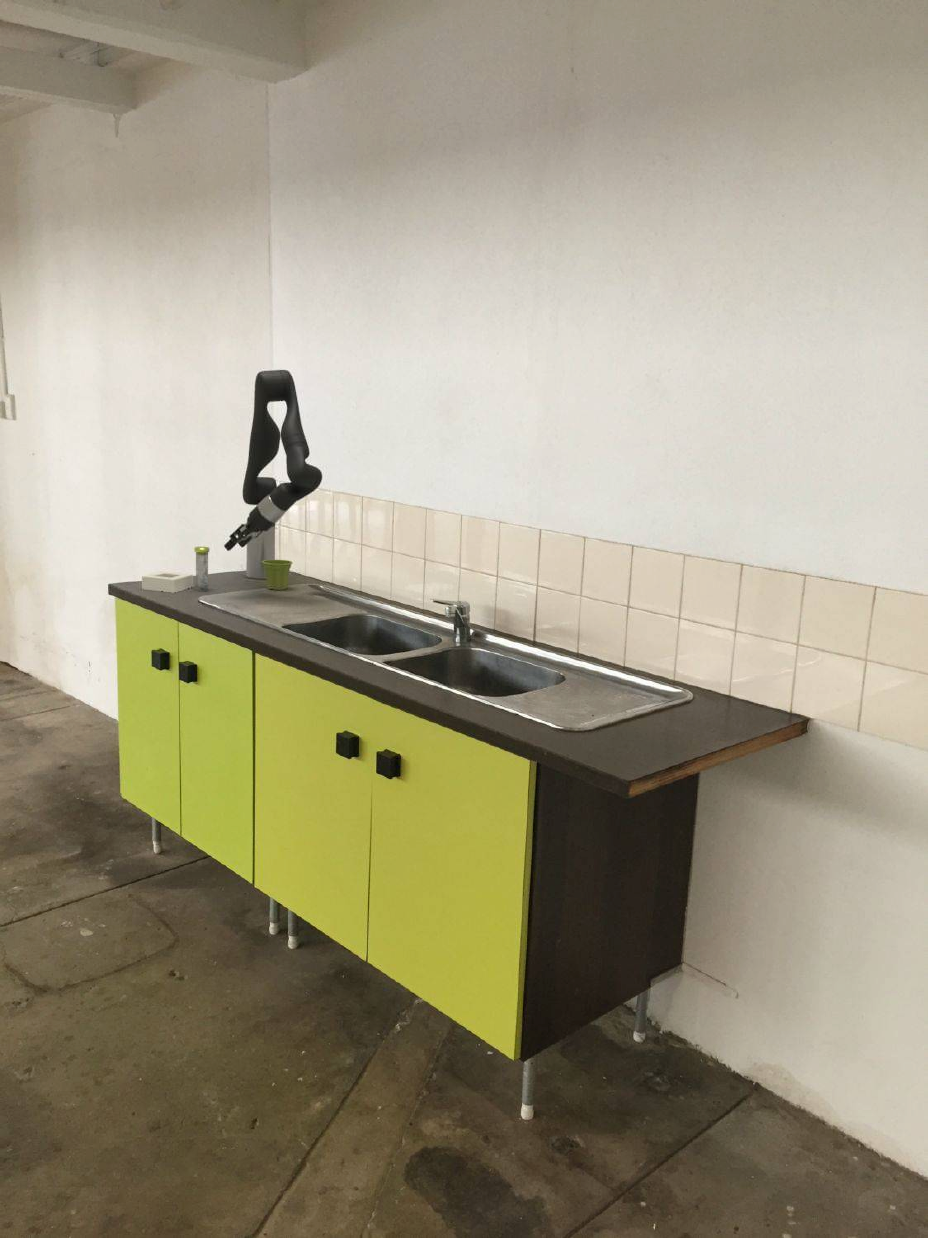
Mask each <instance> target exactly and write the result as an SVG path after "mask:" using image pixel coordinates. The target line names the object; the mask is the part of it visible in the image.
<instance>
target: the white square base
mask: <svg viewBox="0 0 928 1238" xmlns="http://www.w3.org/2000/svg"><path fill="white" fill-rule="evenodd" d="M191 587H193V588H194V574H189V573H181V572H173V571H158V572H154V573H150V574H146V575H142V576H141V589H142V590H146V591H152V592H153V591H154V592H161V591H163V593H169V592H170V593H171V594H175V592H176V593H178V591H179V592H182V591H186V590H189V589H192V588H191ZM188 588H189V589H188ZM185 589H186V590H185Z"/></svg>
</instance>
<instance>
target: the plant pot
mask: <svg viewBox="0 0 928 1238" xmlns="http://www.w3.org/2000/svg"><path fill="white" fill-rule="evenodd" d="M262 563H263V564H264V568H265V573H266V579H265V580H266V587H267V589H268V590H274V591H283V590H287V589H288V582H289V577H290V571H291V568H292V564H293V561H291V560H287V559H275V560H264V561H262Z"/></svg>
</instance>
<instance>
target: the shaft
mask: <svg viewBox="0 0 928 1238" xmlns="http://www.w3.org/2000/svg"><path fill="white" fill-rule="evenodd" d="M194 553H195V591H196V590H197V592H208V591H209V584H208V583H209V553H210V547H209V546H195V547H194Z"/></svg>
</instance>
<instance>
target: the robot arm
mask: <svg viewBox="0 0 928 1238" xmlns="http://www.w3.org/2000/svg"><path fill="white" fill-rule="evenodd" d="M296 390H297V389H296V384H295V381H294V377H293V376H292V373H291V372H290V371H289V370H287V369H275V370H272V369H271V370H262V371H259V372H258V373H257V374H256V377H255V381H254V394H253V395H254V399H253V402H254V403H253V416H252V424H251V431H250V435H249V436H250V438H249V445H248V455H247V456H248V458H247V465H246V471H245V475H244V479H243V485H242V500H243V502H244V503H245V504H246V505H249V506H255V507H254V508H253V509H252V510H251V511H249V514H248V517H247V519H246V522H245V523H241V524H240V525H239V526H238V527H237V529H235V530H234V531H233V532H232V533H231V534H230V535H229V540H228V541H227V542H226V543H225V544H224V545H223V547H224V549H226V551H228V552H230V551H231V550H232V549H233V548H234V547H235V546H236V545H237V544H238V545H239V546H240V548H244V547H245V546H246V570H245V571H246V575H245V576H246V577H247V578H249V579H259V580H261V579H262V580H264V579H265V580H266V573H265V568H264V564H263V563H262V561H264V560H276V524H277V522H279V521H280V520H281V519H282V518H283V516H284V515H285V514H286V512H287V511H289V510H290V509H291V507H293V506H294V504H295V503H296V502H298V501H300V500H301V499H304V498H306V497H307V496H309V495H310V494H312V493H313V492H314V491H316V490H317V489H318V488H319V487H320V485H321V483H322V480H323V473H322V471H321V469H320V468H318V467H317V466H314V465H311V464H309V463H307V461H306V460H307V459H308V458H309V456H310V447H309V444H308V441H307V439H306V435H305V432H304V428H303V424H302V419H301V414H300V405H299V401H298V395H297V391H296ZM274 402H285V403H286V412H285V417H284V419H283V421H282V425H281V428H279V426H278V424H277V423H276V422H275V420H274V419H273V417H272V416H271V414H270V411H269V410H268V405H269V403H274ZM280 443H281V444H282V447H283V450H284V454H285V455H286V458H285V459H286V460H285V461H286V462H285V463H286V474H287V477H288V480H289V481H290V482H282V483H280V484H277V480H276V479H275V478H274V477H269V476H265V477H264V476H259V474H261V472H262V471H263V470H264V469H265V468H266V467H267V466H268V465H269V464H270V463H271V462H272V461H273V460H274V459H275V458H276V456H277V455H278V452H279V450H280Z"/></svg>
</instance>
